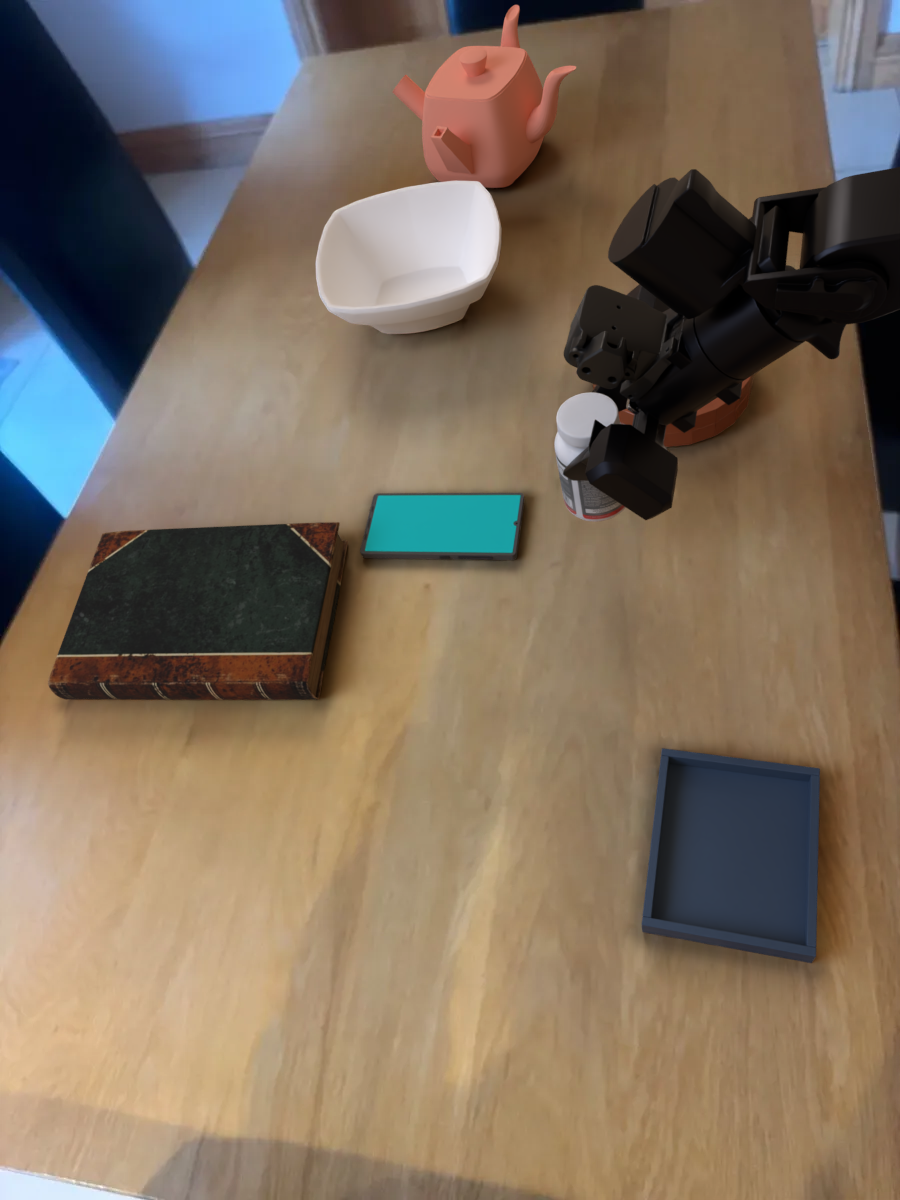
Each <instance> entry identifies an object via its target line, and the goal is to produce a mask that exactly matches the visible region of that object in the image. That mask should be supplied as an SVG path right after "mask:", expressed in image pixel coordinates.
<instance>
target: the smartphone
mask: <svg viewBox="0 0 900 1200" xmlns="http://www.w3.org/2000/svg"><path fill="white" fill-rule="evenodd" d="M525 501H526V500H525V495H524V493H523V492H394V493H393V492H388V493H387V492H386V493H385V492H384V493H383V492H382V493H381V492H378V493H375V494H373V496H372V500H371V504H370V508H369V513H368V516H367V521H366V524H365V528H364V531H363V532H364V533H363V537H362V540H361V544H360V549H359V553H360V554H361V557H362V558H363V559H394V560H395V559H399V560H401V559H402V560H410V559H411V560H413V559H414V560H461V561H462V560H463V561H465V560H466V561H468V560H469V561H470V560H472V561H477V560H478V561H480V560H481V561H515V560H516V559H517V558H518V553H519V552H518V551H519V544H520V537H521V530H522V524H523V515H524V508H525Z"/></svg>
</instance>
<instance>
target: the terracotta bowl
mask: <svg viewBox="0 0 900 1200" xmlns="http://www.w3.org/2000/svg"><path fill="white" fill-rule="evenodd" d="M754 375H755V374H754ZM754 375H752V376H750V377H749V378H747V379H746V380H744V381H743V382H742V389H741V397H740V399H738V400H737V401H735V402H734V403H732V404H730V405H727V404H726V403H725V402H723V401H722V400H721V399H719V398H716V399H714V400H713V401H711V402H710V403H708V404H707V405H705V406H704V407H702V408H700V409H699V410H697V415H696V422H695V427H694V428H692V429H690V430H689V431H687V432H685V433H683V432H682V431H680V430H679V429H678V428H676V427H675V426H673V425H672V424H669V425H667V426H666V432H665V438H664V446H665V447H666V448H668V447H679V446H690V445H694V444H696V443H698V442H702V441H705V440H708V439H711V438H714V437H716V436H717V435H719V434H721V433H723V431H726V429H728V428H730V427H732V425H734V424H735V423H736V422H737V421H738V419H739V418H740V417H741V415H742V414H744V412H745V410H746V409H747V408H748V406H749V402H750V399H751V395H752V391H753V387H754V386H753V385H754V377H755V376H754ZM595 387H596V385H595V384H592V390H593V389H594V388H595ZM618 413H619V420H620V423H621V424H630V425H632V423H633V418H634V414H633V413H632V412H630V411H629V410H628V409H625V410H622V411H620V412H618Z"/></svg>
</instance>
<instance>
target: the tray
mask: <svg viewBox="0 0 900 1200" xmlns="http://www.w3.org/2000/svg"><path fill="white" fill-rule="evenodd" d="M820 788H821V768H820V767H814V766H813V767H812V766H805V765H798V764H789V763H781V762H773V761H768V760H767V761H765V760H759V759H750V758H742V757H736V756H735V757H734V756H727V755H719V754H711V753H702V752H695V751H689V750H688V751H687V750H679V749H671V748H664V747H662V748H661V752H660V760H659V768H658V778H657V787H656V796H655V804H654V813H653V821H652V832H651V839H650V847H649V857H648V864H647V865H648V866H647V873H646V874H647V875H646V883H645V890H644V891H645V892H644V901H643V909H642V920H641V931H642V933H645V934H652V935H655V936H661V937H667V938H671V939H672V938H673V939H676V940H684V941H689V942H693V943H699V944H705V945H710V946H715V947H720V948H725V949H726V948H727V949H732V950H737V951H741V952H742V951H743V952H747V953H752V954H753V953H754V954H759V955H765V956H771V957H776V958H780V959H786V960H791V961H797V962H803V963H808V964H813V962H814V961H815V960H816V957H817V941H818V940H817V937H818V933H817V932H818V894H819V893H818V887H819V883H818V882H819V844H820V842H819V841H820V837H819V836H820V798H821V797H820V794H821V793H820Z"/></svg>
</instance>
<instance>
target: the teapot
mask: <svg viewBox="0 0 900 1200" xmlns="http://www.w3.org/2000/svg"><path fill="white" fill-rule="evenodd" d="M520 12H521V9H520V5H519V4H514V5H512V6H511V7H510V8H509V9H508V10H507V12H506V14H505V17H504V20H503V25H502V33H501V40H500V45H498V46H497V45H466V46H463V47H461V48H459V49H458V50H456V51H454V52H453V53H452V54H451V55H450V56H449V57H448V58H446V60H445V61H444V62H443V63H442V64H441V65H440V67H439V68H437V70H436V71H435V73H434V74H433V76H432V78H431V79H430V81H429V83H428V84H427V86H426V89H425V90H423V89H422V88H421V87H420V86H419V85H418V84H417V83H416V82H415V81H414V80H412V79H411V77H409V76H408V75H407V74H404V75H403V77H402V78H401V79H400V80H399V82H398V83H397V84H396V85H395V87H394V88H393V90H392V94H393V95H394V96H396V97H397V98H398V99H399V101H401V102H402V103H403V104H404V105H405V106H406V107H407V108H408V110H410V111H411V112H412V113H413V114H414V115H415V116H417V118H418V119H420V120H421V121H422V122H421V123H422V125H421V135H422V136H421V138H422V139H421V140H422V149H423V157H424V161H425V165H426V167H427V169H428V170H429V172H430V173H431V174H432V176H433V177H434V178H435V179H436V180H437V181H438V182H446V181H478V182H480V183H481V184H482V185H483V186H484V187H485V189H486V188H487V189H488V188H489V189H494V188H496V189H498V188H499V189H500V188H507V187H509V186H511V185H512V184H514V182H515V181H516V180H517V179H518V178H519V177H520V176H521V175H522V174H523V173H524V172H525V171H526V170H527V168H529V166H530V165H531V164H532V163H533V161H534V160H535V159H536V157H537V155H538V153H539V151H540V149H541V146H542V143H543V142H544V141H543V140H544V138H545V136H546V135H547V134H548V133H549V132H550V131H551V129H552V127H553V126H554V124H555V121H556V119H557V118H556V117H557V113H558V104H559V92H560V86H561V83H562V82H563V80H564V79H565V78H566V77H567V76H568V75H570V74H572V73H573V72H574V71H576V69H577V65H563V66H559V67H556V68H554V69H552V70H551V71H550V72H549V73H548V74H547V76H546V78H545V80H544V84H543V83H542V81H541V79H540V77H539V74H538V72H537V70H536V67H535V66H534V63H533V61H532V59H531V57H530V55H529V53H528V52H527V50H526V49H524V48H522V47H521V45H520V39H519V31H518V28H519V27H518V25H519V16H520ZM542 84H543V85H542Z"/></svg>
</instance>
